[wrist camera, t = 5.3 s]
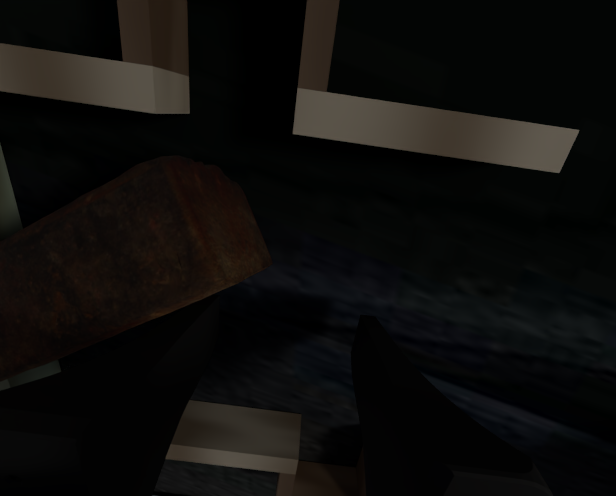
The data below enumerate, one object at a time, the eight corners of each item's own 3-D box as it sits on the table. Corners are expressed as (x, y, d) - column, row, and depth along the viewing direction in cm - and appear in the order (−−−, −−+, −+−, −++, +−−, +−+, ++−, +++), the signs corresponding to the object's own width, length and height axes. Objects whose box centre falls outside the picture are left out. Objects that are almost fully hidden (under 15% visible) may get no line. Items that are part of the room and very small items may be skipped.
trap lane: (60, 439, 19) (25, 483, 17) (-110, -116, 9) (-260, -196, 7) (384, 478, 19) (392, 527, 17) (577, -6, 9) (661, -45, 7)
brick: (239, 171, 12) (159, 140, 7) (278, 264, 12) (223, 292, 7) (43, 269, 14) (-114, 293, 9) (77, 347, 14) (-63, 409, 9)
